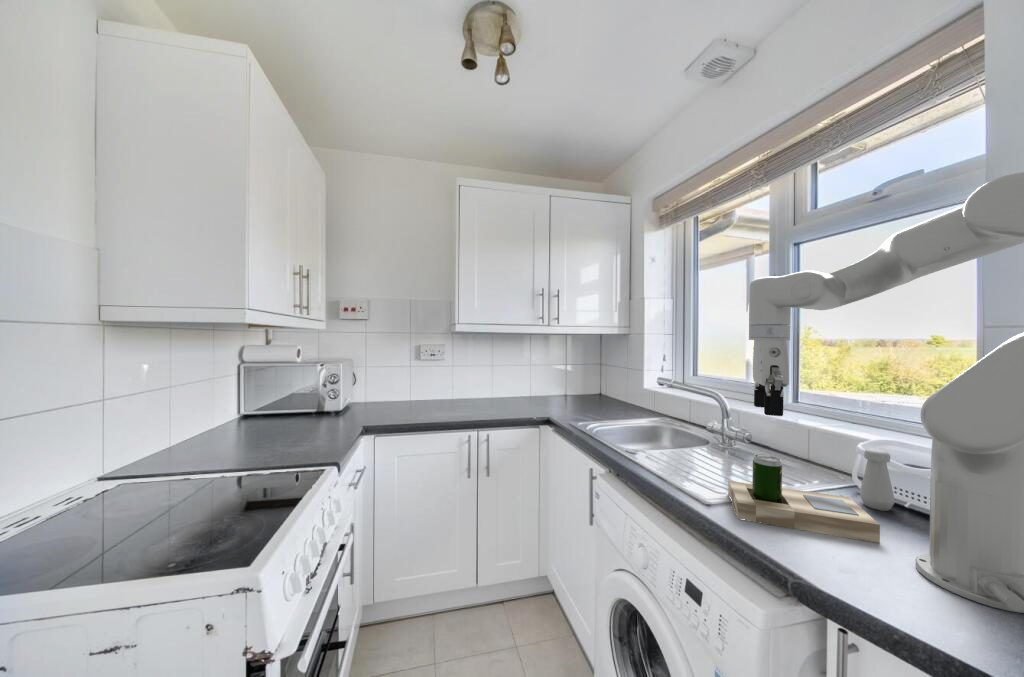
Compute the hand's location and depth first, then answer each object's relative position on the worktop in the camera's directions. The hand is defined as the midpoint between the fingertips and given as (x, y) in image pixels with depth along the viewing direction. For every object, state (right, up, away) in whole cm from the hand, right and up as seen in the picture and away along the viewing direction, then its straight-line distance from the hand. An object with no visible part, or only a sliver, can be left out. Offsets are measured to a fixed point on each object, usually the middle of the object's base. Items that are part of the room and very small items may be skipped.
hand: (767, 411), depth 82 cm
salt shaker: (+27, -23, +3) cm, 35 cm away
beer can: (0, -23, 0) cm, 23 cm away
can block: (+4, -22, -2) cm, 23 cm away
